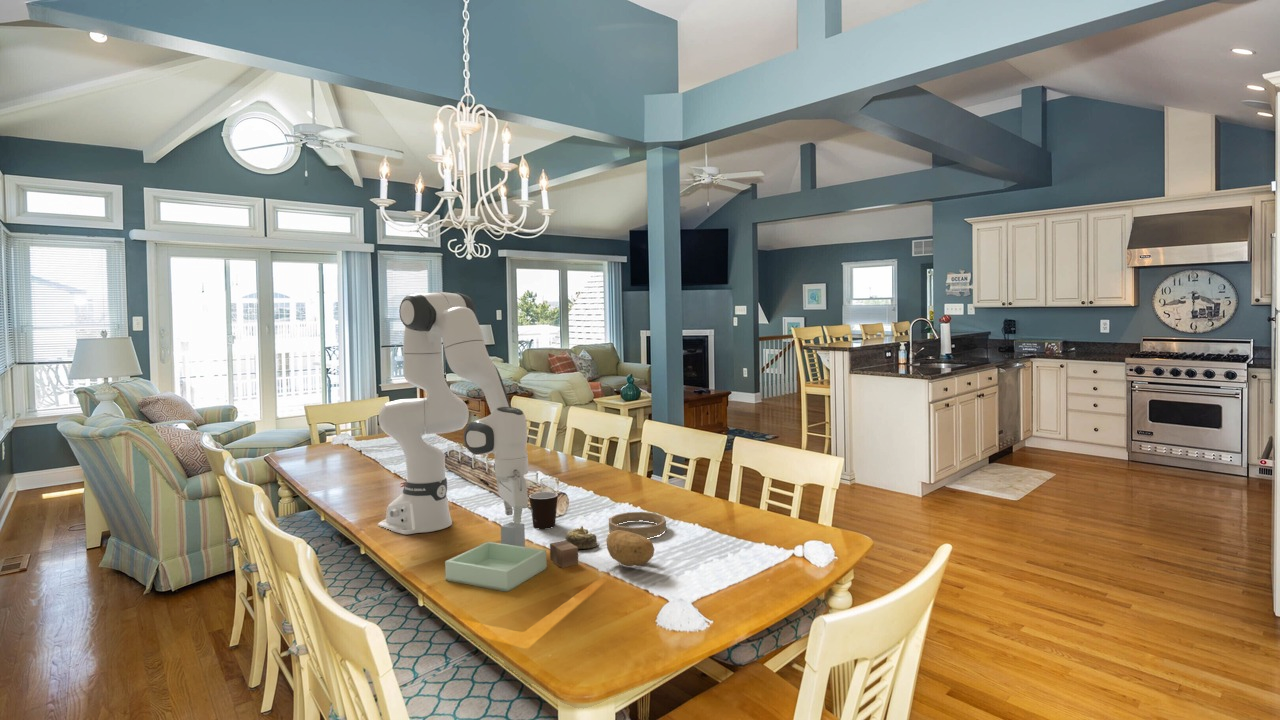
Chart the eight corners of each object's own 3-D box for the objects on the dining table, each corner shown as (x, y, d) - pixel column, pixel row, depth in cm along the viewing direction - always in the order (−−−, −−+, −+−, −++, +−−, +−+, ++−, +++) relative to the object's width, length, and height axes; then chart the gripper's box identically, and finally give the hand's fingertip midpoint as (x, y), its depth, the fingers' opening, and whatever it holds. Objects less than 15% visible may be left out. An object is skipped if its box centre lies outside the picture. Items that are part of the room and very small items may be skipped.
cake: (573, 554, 171) (573, 534, 170) (557, 544, 179) (556, 525, 179) (606, 546, 176) (605, 527, 176) (588, 537, 184) (587, 519, 184)
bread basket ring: (599, 536, 185) (598, 524, 185) (624, 520, 200) (624, 509, 200) (651, 543, 178) (651, 530, 178) (673, 526, 193) (673, 515, 193)
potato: (638, 577, 153) (637, 543, 153) (597, 563, 162) (597, 532, 162) (664, 565, 160) (664, 534, 160) (624, 553, 170) (624, 523, 169)
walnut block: (549, 543, 165) (561, 550, 160) (565, 540, 168) (577, 547, 162) (550, 560, 166) (562, 568, 160) (565, 557, 168) (578, 564, 162)
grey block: (501, 552, 172) (500, 526, 172) (511, 547, 177) (510, 522, 176) (515, 554, 171) (514, 528, 170) (524, 549, 175) (524, 523, 174)
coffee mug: (553, 533, 189) (552, 499, 188) (525, 531, 190) (524, 498, 190) (565, 521, 200) (564, 490, 200) (539, 520, 202) (538, 489, 201)
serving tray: (445, 580, 153) (445, 561, 153) (488, 558, 167) (488, 541, 167) (507, 591, 145) (506, 571, 145) (546, 568, 160) (546, 550, 159)
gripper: (533, 472, 164) (534, 526, 164) (514, 461, 183) (515, 509, 183) (508, 474, 162) (510, 529, 162) (492, 463, 180) (493, 512, 180)
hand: (513, 518), depth 173 cm, fingers open, 8 cm apart
